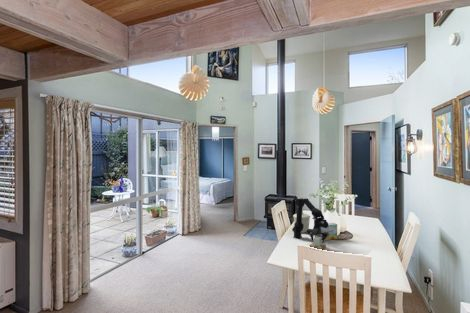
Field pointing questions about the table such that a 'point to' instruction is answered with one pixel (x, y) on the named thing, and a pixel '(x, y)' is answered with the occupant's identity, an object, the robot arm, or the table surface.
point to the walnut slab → (318, 246)
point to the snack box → (329, 231)
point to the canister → (303, 221)
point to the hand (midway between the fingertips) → (317, 242)
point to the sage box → (317, 241)
